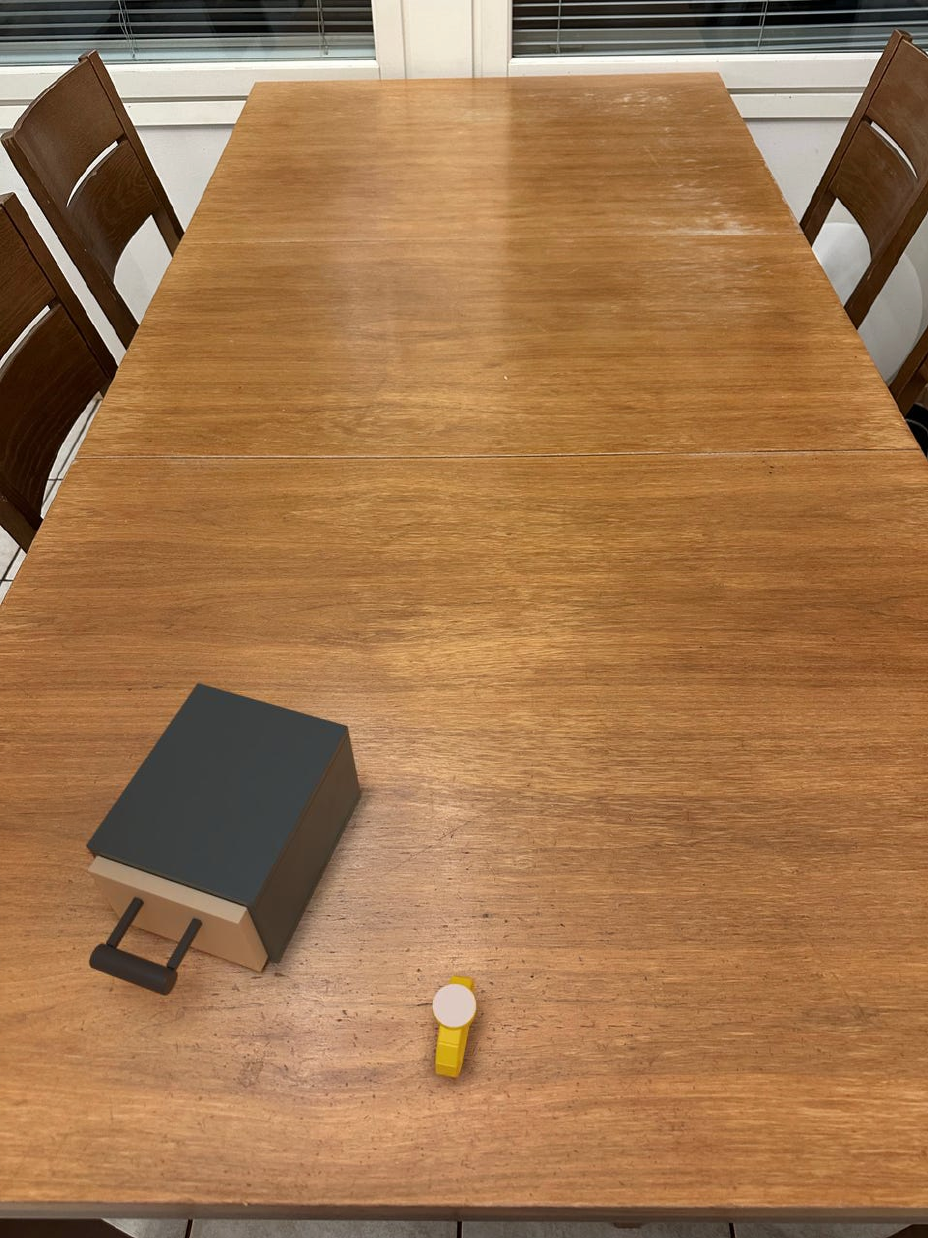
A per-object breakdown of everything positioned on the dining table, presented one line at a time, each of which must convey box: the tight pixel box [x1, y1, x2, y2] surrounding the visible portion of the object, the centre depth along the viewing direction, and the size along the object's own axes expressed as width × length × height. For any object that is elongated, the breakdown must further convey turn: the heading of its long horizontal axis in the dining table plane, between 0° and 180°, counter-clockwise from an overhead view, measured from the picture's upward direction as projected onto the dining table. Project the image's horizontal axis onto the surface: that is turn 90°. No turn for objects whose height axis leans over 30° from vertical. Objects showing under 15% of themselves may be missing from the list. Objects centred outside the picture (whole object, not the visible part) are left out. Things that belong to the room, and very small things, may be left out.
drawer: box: [87, 856, 268, 997], centre depth 67 cm, size 18×11×8 cm, turn 160°
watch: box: [431, 974, 478, 1078], centre depth 61 cm, size 6×3×6 cm, turn 169°
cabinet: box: [85, 682, 362, 965], centre depth 70 cm, size 15×13×10 cm
